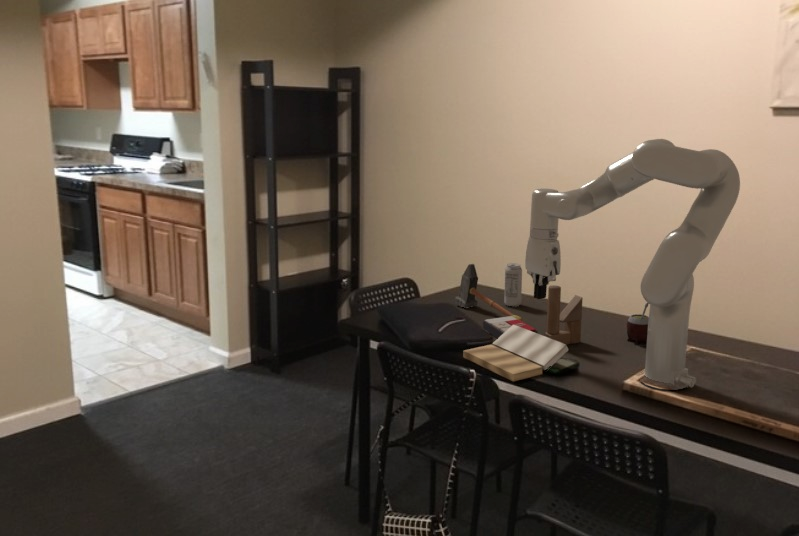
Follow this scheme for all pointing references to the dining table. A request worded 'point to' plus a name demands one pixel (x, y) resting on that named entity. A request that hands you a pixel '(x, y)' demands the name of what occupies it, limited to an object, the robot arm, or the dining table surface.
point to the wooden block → (563, 317)
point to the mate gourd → (638, 327)
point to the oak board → (502, 362)
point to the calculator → (504, 325)
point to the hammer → (475, 292)
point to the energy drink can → (513, 284)
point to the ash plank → (531, 346)
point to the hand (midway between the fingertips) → (539, 297)
